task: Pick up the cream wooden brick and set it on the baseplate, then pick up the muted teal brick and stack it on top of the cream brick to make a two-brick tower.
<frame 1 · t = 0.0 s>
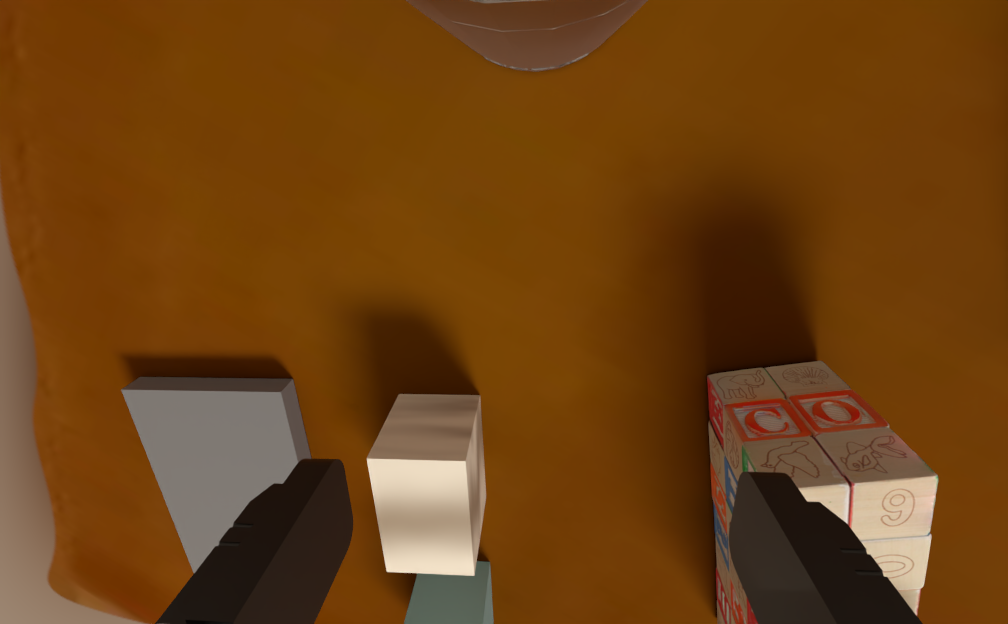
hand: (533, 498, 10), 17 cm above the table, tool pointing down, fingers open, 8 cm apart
baseplate: (246, 478, 34), on the table
stack of blocks: (760, 508, 31), on the table, touching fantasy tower
teal brick: (459, 597, 37), on the table
cream brick: (444, 446, 31), on the table
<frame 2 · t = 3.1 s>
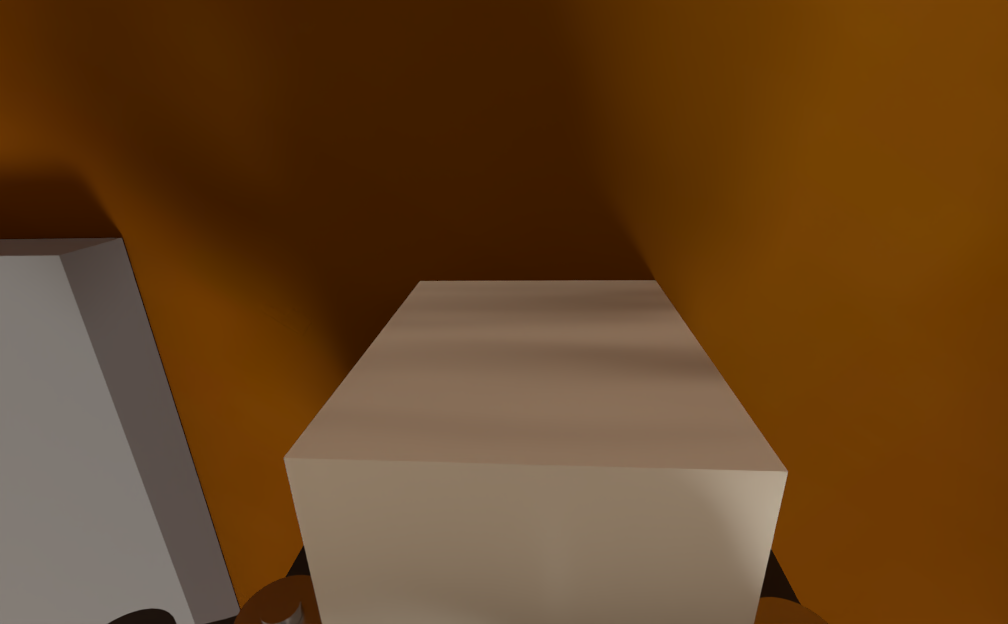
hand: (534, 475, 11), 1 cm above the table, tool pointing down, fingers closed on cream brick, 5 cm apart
baseplate: (46, 514, 14), on the table
cream brick: (536, 437, 12), on the table, touching gripper
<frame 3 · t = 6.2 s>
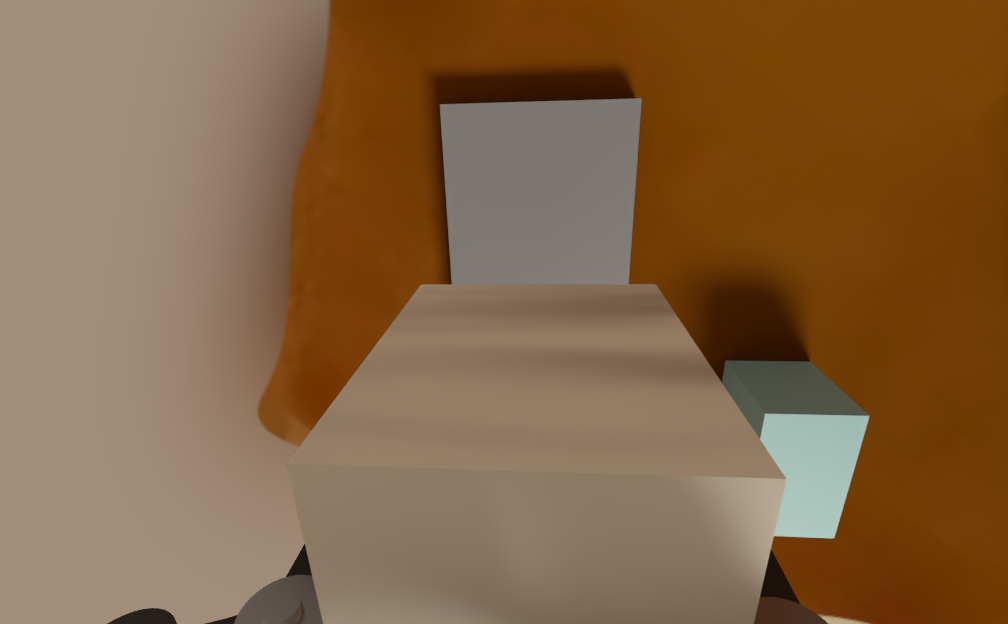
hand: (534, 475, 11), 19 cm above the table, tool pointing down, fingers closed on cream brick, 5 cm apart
baseplate: (539, 251, 29), on the table
teal brick: (756, 415, 32), on the table
cream brick: (536, 440, 12), point 18 cm above the table, touching gripper
when the fingers open (4 cm above the table, at t = 9.5 s): cream brick drops 1 cm, resting on baseplate.
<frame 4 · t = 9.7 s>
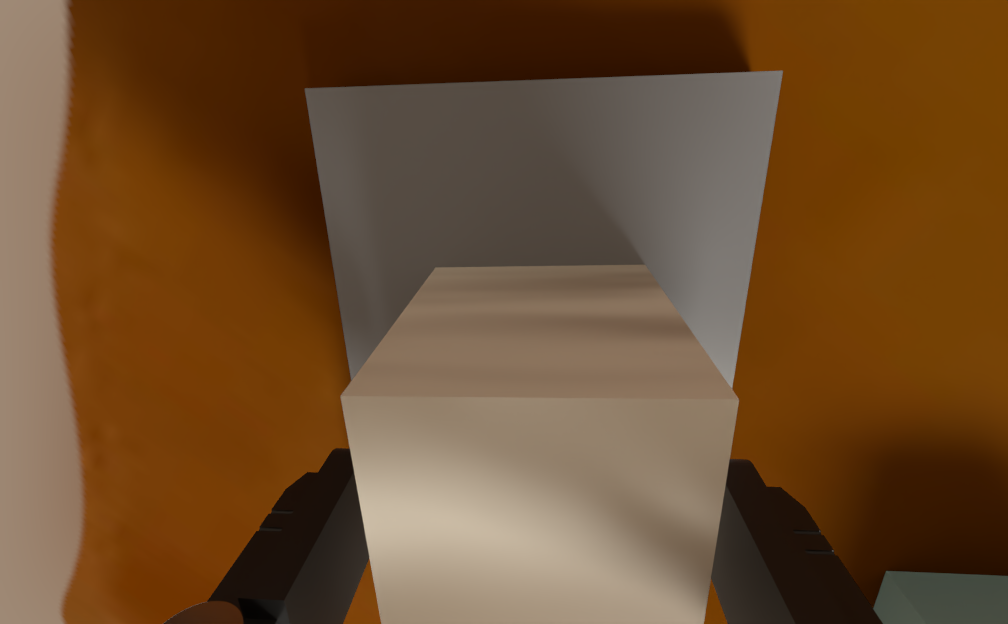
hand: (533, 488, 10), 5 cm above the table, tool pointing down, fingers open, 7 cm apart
baseplate: (536, 380, 15), on the table
cream brick: (539, 409, 13), point 1 cm above the table, touching baseplate
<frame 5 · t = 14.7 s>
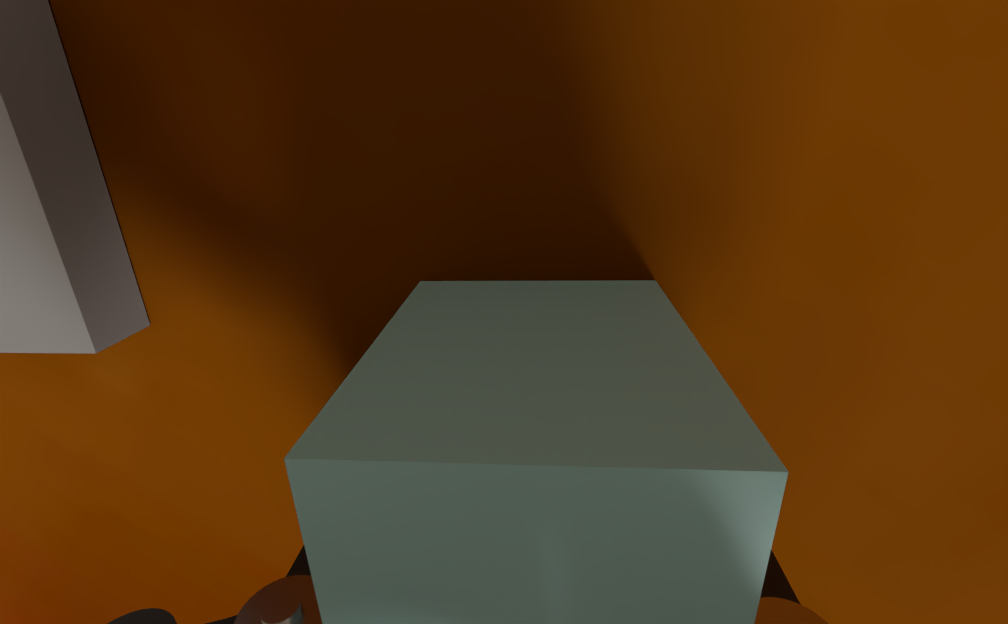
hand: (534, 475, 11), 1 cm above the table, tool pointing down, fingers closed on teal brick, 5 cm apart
teal brick: (536, 438, 12), on the table, touching gripper
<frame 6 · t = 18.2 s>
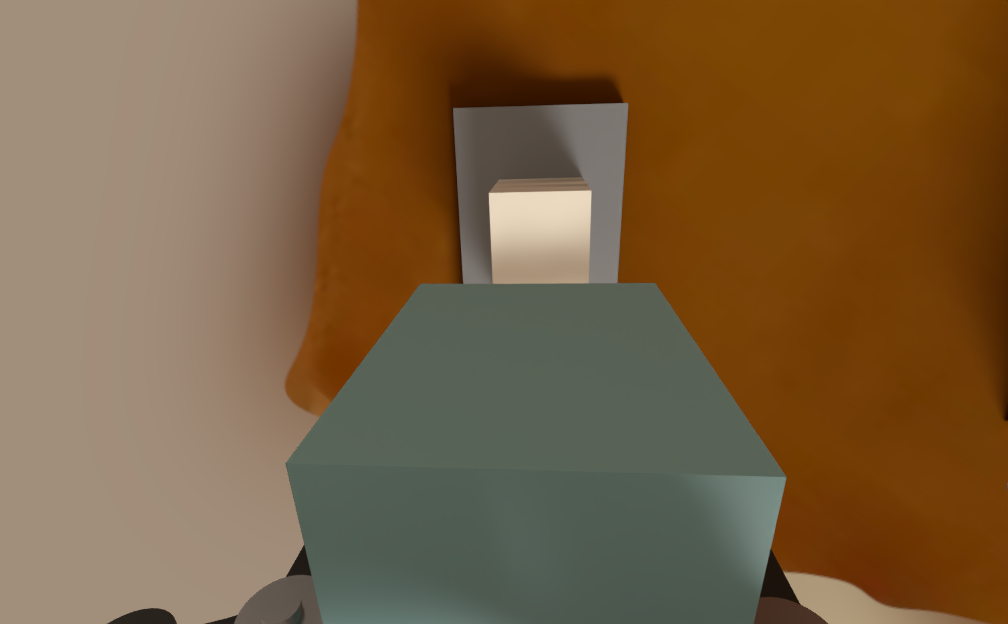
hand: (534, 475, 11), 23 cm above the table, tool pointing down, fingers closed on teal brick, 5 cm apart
baseplate: (539, 237, 32), on the table
teal brick: (536, 440, 12), point 22 cm above the table, touching gripper
cream brick: (540, 243, 31), point 1 cm above the table, touching baseplate
when the fingers open (10 cm above the table, at t = 21.7 s): teal brick drops 1 cm, resting on cream brick.
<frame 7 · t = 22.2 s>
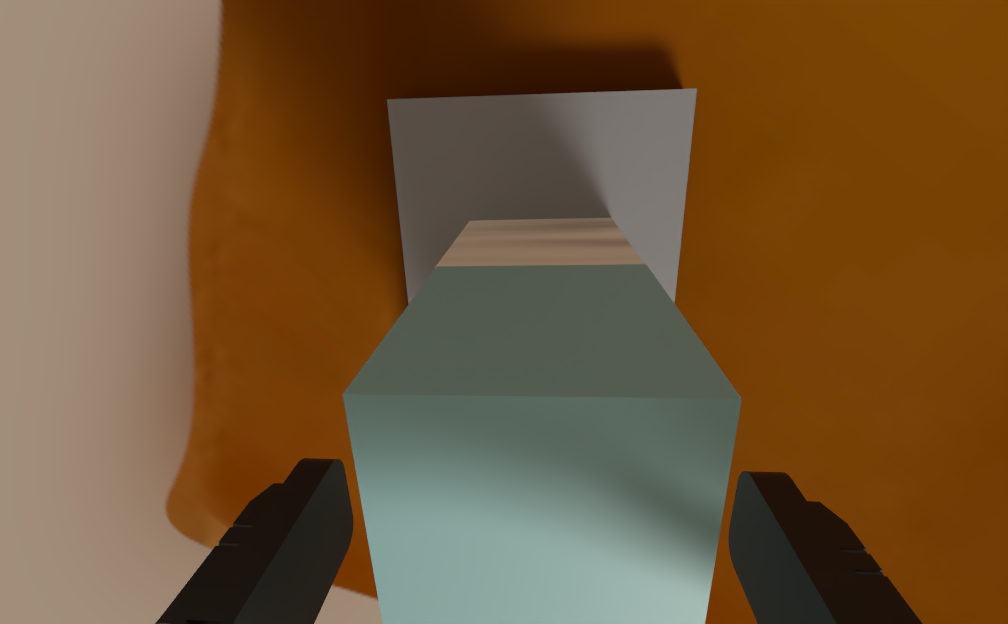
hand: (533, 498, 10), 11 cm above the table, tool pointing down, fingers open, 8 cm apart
baseplate: (538, 308, 20), on the table
teal brick: (540, 409, 13), point 7 cm above the table, touching cream brick
cream brick: (540, 323, 19), point 1 cm above the table, touching baseplate, teal brick
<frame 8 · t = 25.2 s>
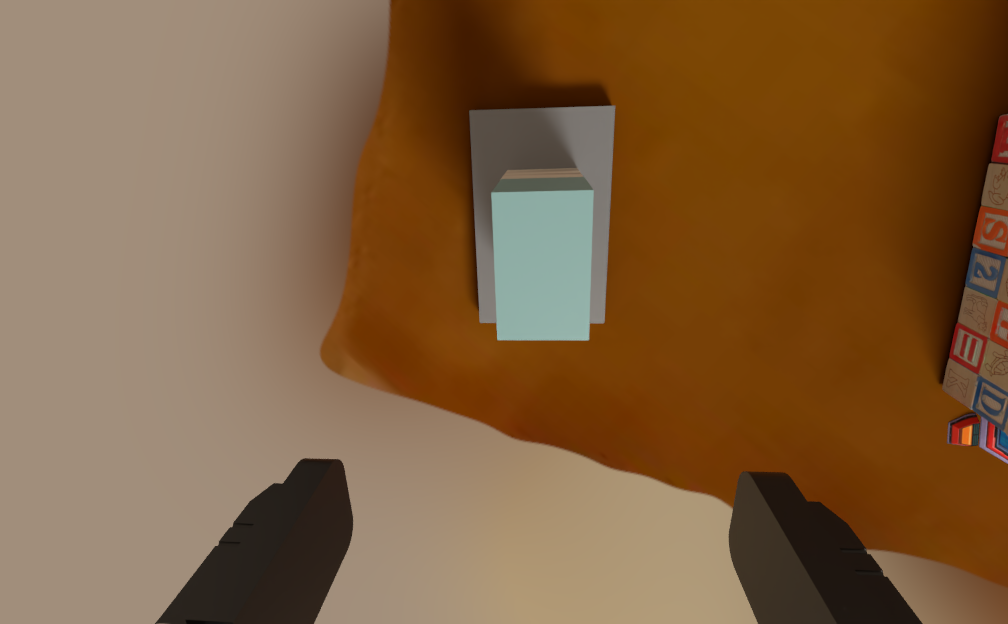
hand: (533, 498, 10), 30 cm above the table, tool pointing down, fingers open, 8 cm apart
baseplate: (541, 220, 38), on the table
teal brick: (542, 243, 31), point 7 cm above the table, touching cream brick
cream brick: (542, 224, 37), point 1 cm above the table, touching baseplate, teal brick
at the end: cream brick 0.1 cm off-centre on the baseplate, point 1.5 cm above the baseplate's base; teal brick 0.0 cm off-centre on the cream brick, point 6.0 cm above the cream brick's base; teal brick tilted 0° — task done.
